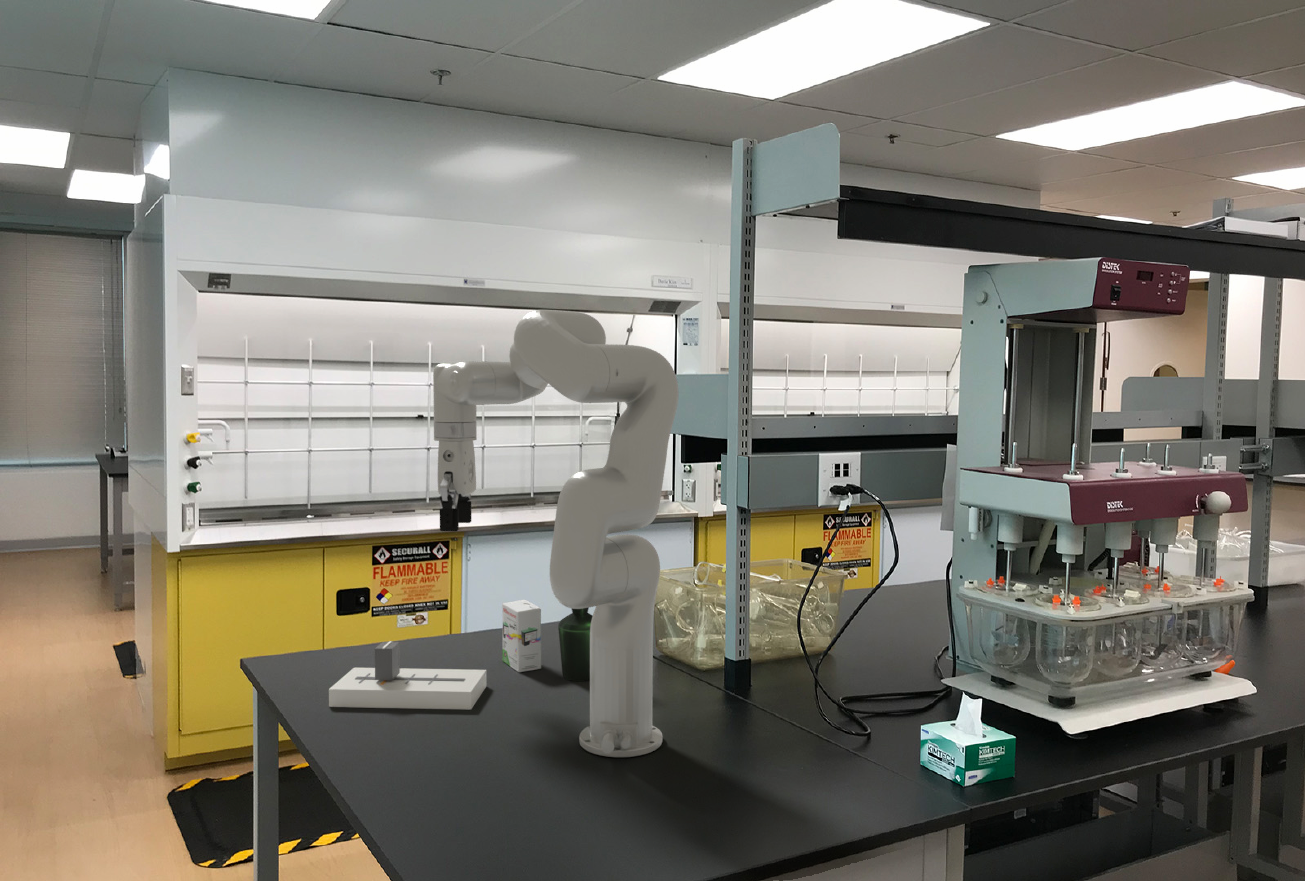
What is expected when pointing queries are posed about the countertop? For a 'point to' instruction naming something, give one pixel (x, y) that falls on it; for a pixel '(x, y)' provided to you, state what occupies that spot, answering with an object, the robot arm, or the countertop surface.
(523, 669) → the ink box
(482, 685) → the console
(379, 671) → the fader knob
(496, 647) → the countertop surface
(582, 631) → the potion bottle
